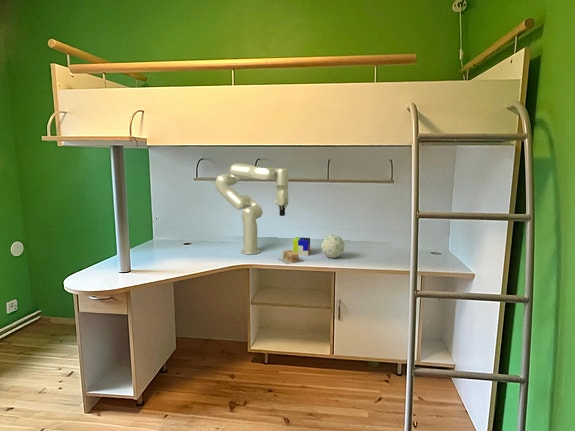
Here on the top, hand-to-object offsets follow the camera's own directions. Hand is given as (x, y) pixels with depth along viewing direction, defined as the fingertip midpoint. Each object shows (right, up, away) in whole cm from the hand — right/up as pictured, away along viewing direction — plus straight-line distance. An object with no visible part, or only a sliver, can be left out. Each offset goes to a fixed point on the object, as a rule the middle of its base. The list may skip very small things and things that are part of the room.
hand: (282, 215), depth 257 cm
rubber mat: (+6, -29, -6) cm, 30 cm away
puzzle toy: (+13, -26, +11) cm, 31 cm away
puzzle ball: (+33, -28, +2) cm, 43 cm away
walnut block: (+3, -25, -2) cm, 25 cm away
